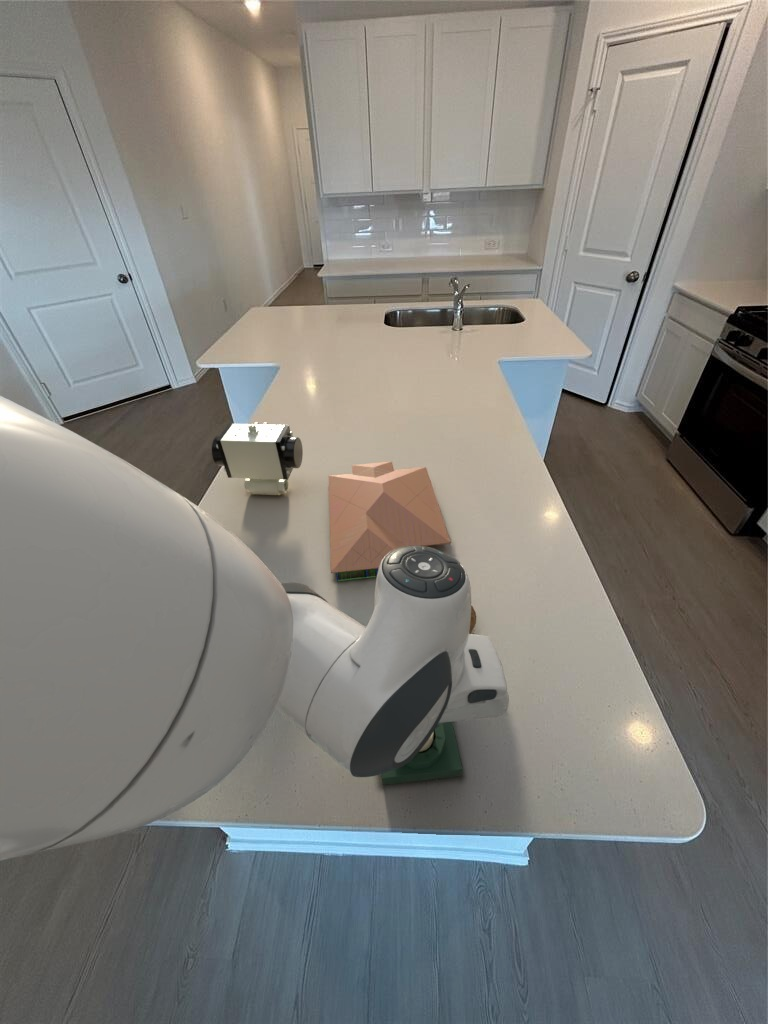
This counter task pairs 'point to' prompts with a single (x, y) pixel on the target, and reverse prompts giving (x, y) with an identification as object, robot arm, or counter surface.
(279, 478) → the ball valve
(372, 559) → the house
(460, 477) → the counter surface
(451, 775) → the control block
